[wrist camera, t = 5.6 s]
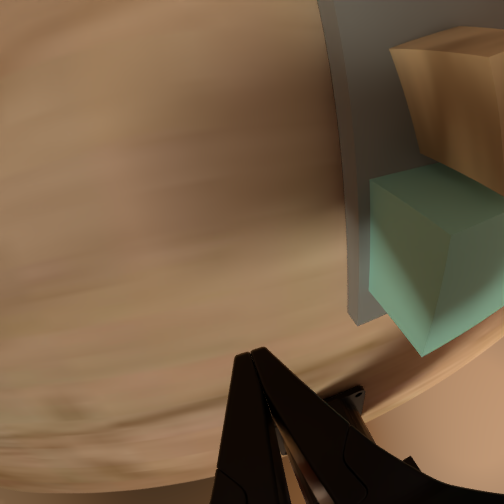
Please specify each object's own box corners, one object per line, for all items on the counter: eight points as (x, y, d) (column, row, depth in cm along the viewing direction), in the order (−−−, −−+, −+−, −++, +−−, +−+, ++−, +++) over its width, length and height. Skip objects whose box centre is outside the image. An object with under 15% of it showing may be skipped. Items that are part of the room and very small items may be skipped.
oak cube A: (481, 116, 10) (557, 147, 7) (420, 153, 10) (504, 196, 7) (459, 26, 8) (546, 36, 4) (388, 48, 8) (488, 57, 5)
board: (539, 219, 17) (548, 226, 16) (347, 312, 15) (357, 326, 14) (538, -33, 6) (550, -31, 5) (279, -127, 4) (289, -139, 4)
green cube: (451, 255, 13) (506, 303, 10) (368, 290, 13) (421, 357, 10) (463, 156, 11) (538, 196, 7) (369, 179, 10) (450, 235, 7)
